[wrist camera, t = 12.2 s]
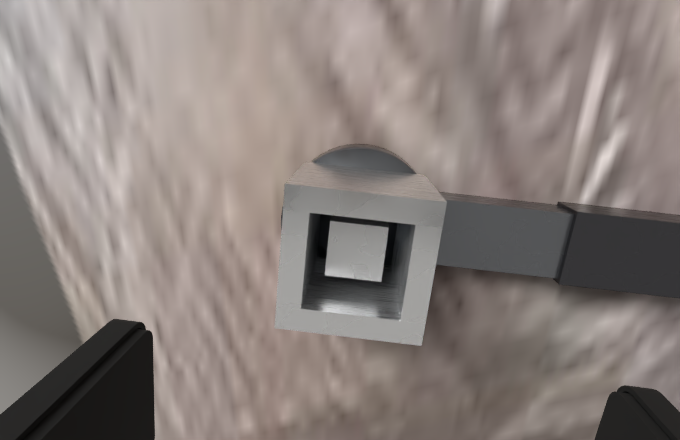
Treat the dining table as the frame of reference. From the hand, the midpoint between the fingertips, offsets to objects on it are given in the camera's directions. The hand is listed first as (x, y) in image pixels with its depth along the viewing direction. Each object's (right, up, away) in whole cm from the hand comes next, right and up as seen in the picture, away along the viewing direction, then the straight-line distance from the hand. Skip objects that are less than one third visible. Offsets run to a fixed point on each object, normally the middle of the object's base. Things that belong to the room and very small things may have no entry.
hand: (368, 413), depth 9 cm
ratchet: (+8, +3, +16) cm, 18 cm away
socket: (0, +4, +14) cm, 14 cm away
